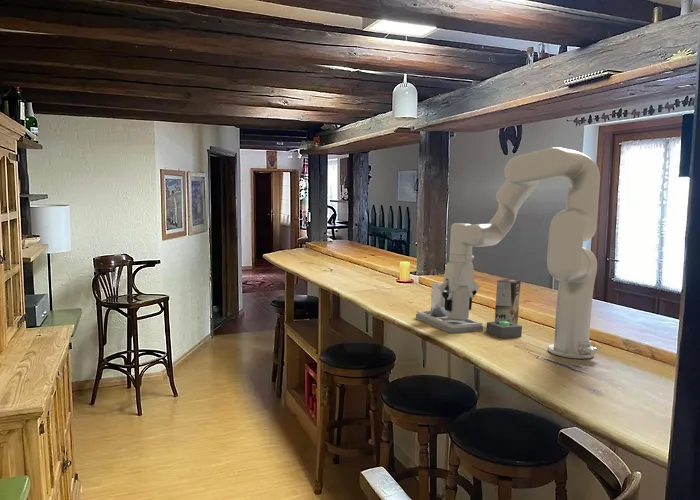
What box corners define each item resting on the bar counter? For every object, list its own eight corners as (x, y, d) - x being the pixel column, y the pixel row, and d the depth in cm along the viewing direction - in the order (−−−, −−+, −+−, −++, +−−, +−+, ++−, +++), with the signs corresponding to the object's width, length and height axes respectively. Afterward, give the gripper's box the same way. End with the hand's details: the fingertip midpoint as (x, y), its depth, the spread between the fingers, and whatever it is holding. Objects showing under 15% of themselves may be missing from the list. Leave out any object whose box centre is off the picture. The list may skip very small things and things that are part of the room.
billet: (452, 317, 194) (454, 285, 193) (436, 318, 191) (438, 285, 190) (442, 313, 200) (444, 282, 199) (426, 314, 197) (428, 282, 196)
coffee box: (511, 327, 188) (514, 282, 187) (493, 325, 191) (496, 280, 190) (518, 323, 196) (521, 279, 194) (500, 320, 199) (503, 277, 198)
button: (511, 331, 177) (511, 322, 177) (503, 332, 176) (503, 323, 176) (504, 329, 180) (505, 320, 180) (496, 330, 179) (496, 321, 179)
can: (467, 317, 189) (468, 283, 188) (469, 322, 181) (471, 287, 180) (445, 316, 190) (447, 282, 188) (447, 320, 182) (449, 286, 181)
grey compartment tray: (482, 330, 183) (483, 323, 183) (450, 333, 178) (451, 325, 177) (445, 316, 204) (445, 309, 204) (415, 318, 199) (416, 311, 198)
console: (521, 336, 176) (522, 326, 176) (501, 338, 173) (502, 327, 173) (505, 330, 184) (505, 320, 183) (486, 332, 180) (486, 322, 180)
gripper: (474, 257, 190) (472, 306, 192) (432, 258, 183) (430, 309, 185) (488, 260, 183) (485, 310, 185) (445, 261, 177) (442, 313, 178)
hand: (457, 309), depth 185 cm, fingers closed on can, 7 cm apart
